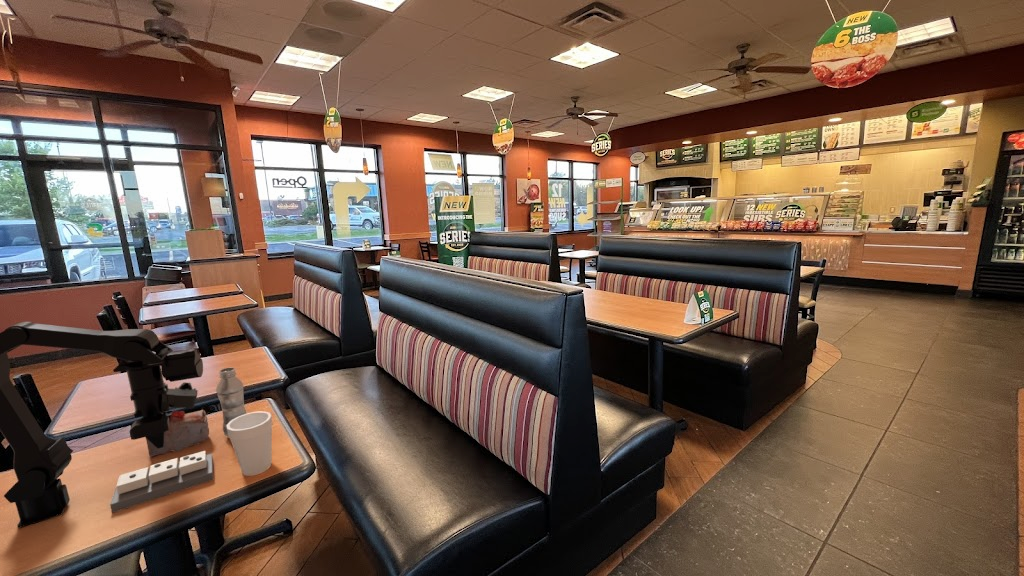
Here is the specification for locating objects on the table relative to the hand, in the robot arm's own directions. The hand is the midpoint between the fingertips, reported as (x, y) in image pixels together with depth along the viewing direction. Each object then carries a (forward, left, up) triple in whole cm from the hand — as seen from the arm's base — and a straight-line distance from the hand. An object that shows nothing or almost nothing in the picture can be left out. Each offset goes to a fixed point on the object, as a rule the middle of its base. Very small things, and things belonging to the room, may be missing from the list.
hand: (160, 447), depth 97 cm
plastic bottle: (+15, +16, -10) cm, 24 cm away
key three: (+5, 0, -7) cm, 9 cm away
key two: (0, 0, -7) cm, 7 cm away
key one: (-6, 0, -7) cm, 9 cm away
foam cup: (+18, -6, -10) cm, 21 cm away
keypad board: (0, 0, -10) cm, 10 cm away
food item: (+2, +19, -10) cm, 22 cm away
